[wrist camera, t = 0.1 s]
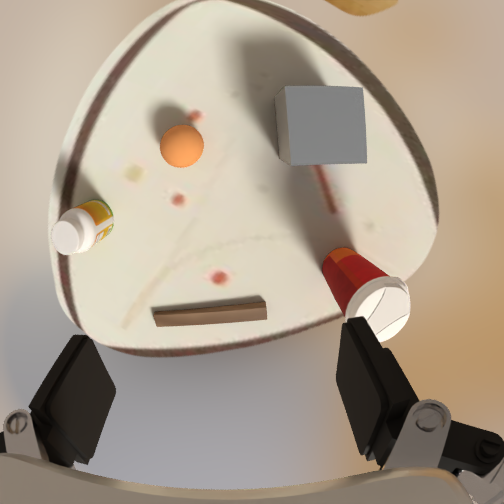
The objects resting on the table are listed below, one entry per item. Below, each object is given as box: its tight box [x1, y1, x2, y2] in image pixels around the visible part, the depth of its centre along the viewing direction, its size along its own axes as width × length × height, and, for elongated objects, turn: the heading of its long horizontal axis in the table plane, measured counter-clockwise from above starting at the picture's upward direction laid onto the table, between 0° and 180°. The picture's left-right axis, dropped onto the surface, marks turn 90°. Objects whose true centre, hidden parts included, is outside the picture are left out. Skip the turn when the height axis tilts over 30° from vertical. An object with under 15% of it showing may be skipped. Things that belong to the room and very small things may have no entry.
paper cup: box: [322, 248, 410, 342], centre depth 34 cm, size 8×8×14 cm
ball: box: [160, 125, 204, 168], centre depth 31 cm, size 5×5×5 cm
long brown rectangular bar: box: [153, 302, 267, 327], centre depth 41 cm, size 2×16×2 cm, turn 95°
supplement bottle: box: [51, 200, 114, 255], centre depth 32 cm, size 5×5×10 cm
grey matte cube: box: [274, 86, 367, 166], centre depth 29 cm, size 8×8×9 cm
